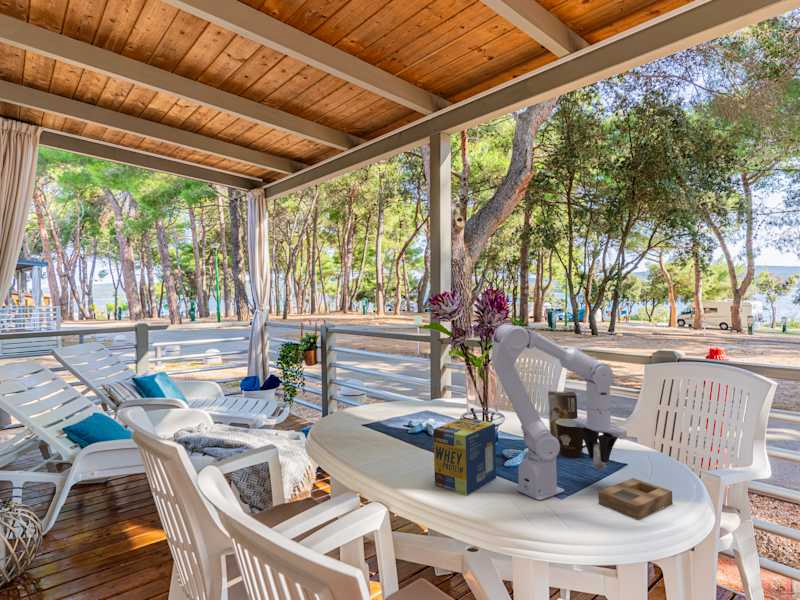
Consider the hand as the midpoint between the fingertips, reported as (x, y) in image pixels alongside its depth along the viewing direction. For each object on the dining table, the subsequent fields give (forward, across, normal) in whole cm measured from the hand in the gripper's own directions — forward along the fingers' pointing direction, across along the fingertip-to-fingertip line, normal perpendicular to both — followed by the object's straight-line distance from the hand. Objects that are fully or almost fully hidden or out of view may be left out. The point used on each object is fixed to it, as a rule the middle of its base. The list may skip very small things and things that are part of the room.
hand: (599, 459), depth 125 cm
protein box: (+8, +23, +26) cm, 35 cm away
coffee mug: (+7, +19, -14) cm, 25 cm away
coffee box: (+7, +32, -25) cm, 41 cm away
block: (+7, -11, +2) cm, 13 cm away
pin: (+2, 0, 0) cm, 2 cm away
